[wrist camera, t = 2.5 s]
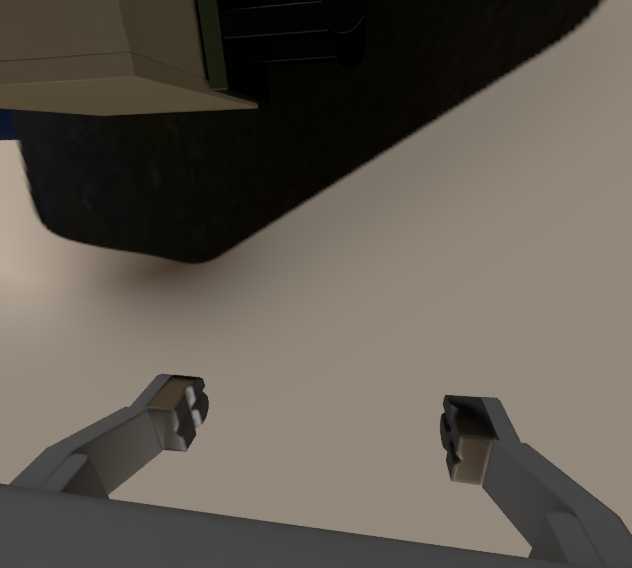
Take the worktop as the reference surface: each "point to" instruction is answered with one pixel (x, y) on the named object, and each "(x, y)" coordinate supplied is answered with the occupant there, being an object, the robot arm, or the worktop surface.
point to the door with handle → (275, 40)
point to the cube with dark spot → (105, 58)
